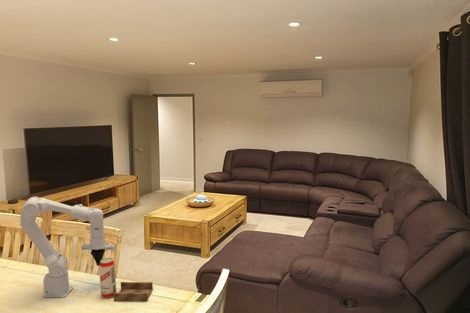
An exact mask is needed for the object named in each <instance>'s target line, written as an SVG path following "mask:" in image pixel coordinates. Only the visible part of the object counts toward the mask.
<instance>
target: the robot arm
mask: <svg viewBox="0 0 470 313" xmlns="http://www.w3.org/2000/svg"><path fill="white" fill-rule="evenodd" d="M49 211H50V212H51V211H52V212H56V213H57V212H58V213H63V214H68V215H70V216H71V219H72V218H73V219H77V220H81V221H85V222H89V225H90V226H89V234H90V243H87V244H86V243H85V244H81V247H80V250H81V251H84V250H85V251H86V250H88V251H89V250H91V251H90V255H91V256H92V257H93V259H94V262H95V264H96V266H98V267H99V264H100V261H101V260H102V259H104V254H105V252H106V251H109V250H111V251H114V250H116V244H113V243H112V244H111V243H106V242H105V241H106V240H105V226H104V211H103V210H102V209H100V208H99V207H87V206H85V205H84V206H83V204H82V203H79V204H75V205H68V204H65V203H61V202H58V201H54V200H50V199H48V198H44V197H39V196H32V197H29V198H28V199H27V201H26V202H25V203H24V204H23V205H22V207H21V209H20V212H19V214H20V221H19V222H20V223H19V224H20V227H21V229H22V230H23V231H24V233H25V234H26V235H27V237H28V238H29V240H31V242H32V243H33V245H34V246H35V248H37V250H38V252H39V253H40V254H41V256H42V257H43V258H44V260H45V266H46V267H47V268H48V273H46V274H45V275H44V277H43V283H42V284H43V293H44V294H43V297H44V298H65V297H66V296H68V294H69V293H70V292H72V290H73V289H74V286H70V281H69V280H70V279H69V269H68V268H67V264H68V259H67V257H66V256H65V255H63V254H62V253H61V252H60V251H59V250H56V248H55V247H54V246H53V245H52V243H51V241H50V240H49V239H48V237H47V236H46V235H45V233H44V232H43V231H42V229H41V227H40V226H39V225H38V224H37V222H36V219H37V217H38V215H39V213H40V214H44V213H46V212H49Z"/></svg>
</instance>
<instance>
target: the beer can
mask: <svg viewBox="0 0 470 313" xmlns="http://www.w3.org/2000/svg"><path fill="white" fill-rule="evenodd" d="M115 266H116V264H115V262H114V259H113V258H112V257H103V258H102V260H101V261H100V264H99V266H98V267H99V268H98V269H99V284H100V287H99V288H100V295H101V297H103V298H104V299H110V298H112V297H113V298H114V294H113V293H114V292H115V293H117V284H116V283H117V281H116V267H115Z"/></svg>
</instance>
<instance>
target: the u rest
mask: <svg viewBox="0 0 470 313" xmlns="http://www.w3.org/2000/svg"><path fill="white" fill-rule="evenodd" d="M153 285H154V284H153V282H152V281H148V282H147V281H140V282H139V281H120V290H119V291H118V292H116V293H115V292H114V293H113V294H114V296H113V301H114V302H143V303H144V302H146V303H148V301H149V298H150V296H151V294H152V291H153V287H154V286H153Z"/></svg>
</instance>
